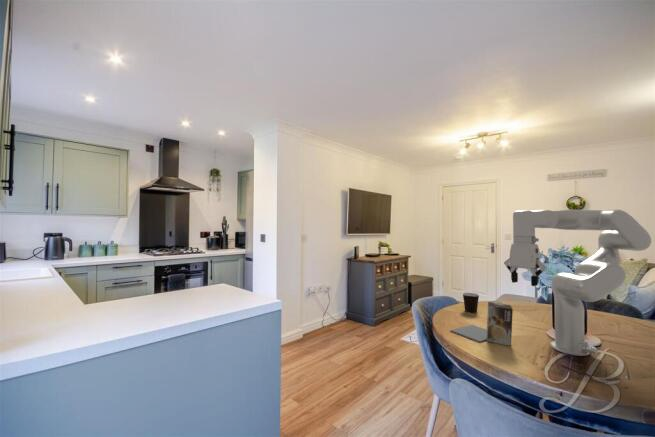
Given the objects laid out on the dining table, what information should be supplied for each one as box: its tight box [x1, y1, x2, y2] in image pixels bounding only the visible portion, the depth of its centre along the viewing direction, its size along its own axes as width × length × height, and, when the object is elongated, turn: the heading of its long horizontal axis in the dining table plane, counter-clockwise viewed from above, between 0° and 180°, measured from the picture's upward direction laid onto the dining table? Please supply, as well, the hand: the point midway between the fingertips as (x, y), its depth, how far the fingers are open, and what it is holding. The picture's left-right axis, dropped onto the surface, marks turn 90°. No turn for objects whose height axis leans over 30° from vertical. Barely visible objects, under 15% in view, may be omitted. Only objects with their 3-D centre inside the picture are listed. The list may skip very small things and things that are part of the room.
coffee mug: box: [462, 292, 480, 314], centre depth 174 cm, size 12×9×10 cm
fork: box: [560, 364, 621, 385], centre depth 102 cm, size 3×16×2 cm, turn 29°
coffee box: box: [486, 301, 514, 347], centre depth 130 cm, size 9×6×16 cm
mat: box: [450, 324, 488, 343], centre depth 140 cm, size 15×16×1 cm
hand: (524, 283), depth 121 cm, fingers open, 6 cm apart
